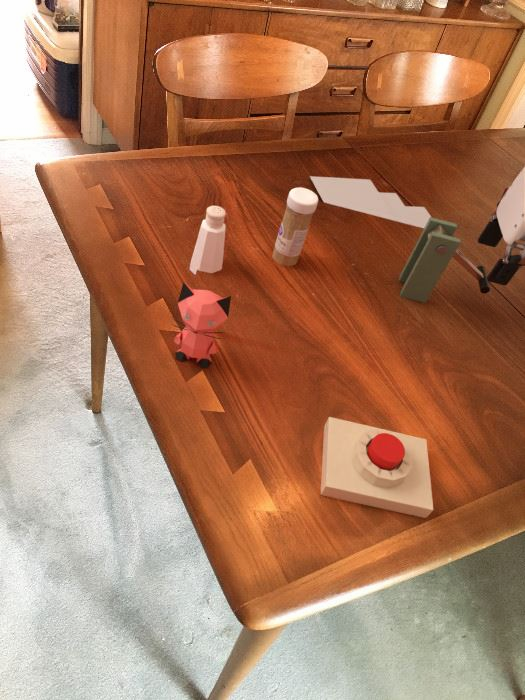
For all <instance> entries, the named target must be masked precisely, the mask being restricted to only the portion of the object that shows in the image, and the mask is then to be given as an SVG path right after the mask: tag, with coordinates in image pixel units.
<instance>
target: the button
mask: <svg viewBox="0 0 525 700" xmlns="http://www.w3.org/2000/svg"><path fill="white" fill-rule="evenodd" d="M368 456H369V458H370V460H371V461H372V462H373V463H374V464H375V465H376V466H377V467H379V468H381V469H385V470H391V469H394V468H396V467H397V466H398V464H399V463H400V462H401V460H402V459H403V458H404V456H405V448H404V446H403V444H402V442H401V441H400V440H399V439H398V438H397V437H395V436H393V435H391V434H388V433H381V434H378V435H376V436H375V437H374V439H373V440H372V442H371V443H370V445H369V447H368Z"/></svg>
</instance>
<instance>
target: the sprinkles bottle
mask: <svg viewBox="0 0 525 700" xmlns="http://www.w3.org/2000/svg"><path fill="white" fill-rule="evenodd" d="M318 203H319V197H318V195H317V194H316V193H315V192H314V191H312V190H311V189H308V188H306V187H294V188H292V189H290V190H289V193H288V195H287V199H286V208H285V211H284V214H283V218H282V221H281V223H280V227H279V230H278V232H277V236H276V240H275V244H274V248H273V250H272V251H273V252H272V255H271V256H272V259H273V261H274V262H275V263H277V264H278V265H280V266H283V267H294V266H295V265H296V264H297V263H298V261H299V257H300V254H301V252H302V249H303V247H304V244H305V240H306V237H307V234H308V232H309V228H310V224H311V221H312V218H313V215H314V213H315V212H316V210H317V207H318Z"/></svg>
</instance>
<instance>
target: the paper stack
mask: <svg viewBox="0 0 525 700" xmlns="http://www.w3.org/2000/svg"><path fill="white" fill-rule="evenodd" d="M309 178H310V180H311V182H312V184H313V185H314V187H315V189H316V191H317V193H318V194H319V196H320V198H321V200H322V201H323V203H324V204H328V205H332V206H337V207H340V208H344V209H348V210H351V211H356V212H360V213H363V214H367V215H370V216H375V217H379V218H383V219H386V220H391V221H393V222H398V223H402V224H405V225H408V226H414V227H417V228H421V229H424V228H425V226H426V224H427V222H428V220H429V218H430V217H432V215H431V214H430V212H428V210H427V208H426V207H425V206H410V205H409V206H408V205H405V204H404V202H403V201H402V200H401V198H400V196H399V195H398V194H397V192H380V191H378V188H377V187H376V186H375V184H374V183H373V181H372V180H371V179H366V178H349V177H348V178H347V177H332V176H331V177H330V176H329V177H328V176H312V175H309Z"/></svg>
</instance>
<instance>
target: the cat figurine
mask: <svg viewBox="0 0 525 700" xmlns="http://www.w3.org/2000/svg"><path fill="white" fill-rule="evenodd" d="M231 299H232V295H229V296H226V297H222V296H220V295H218V294H216V292H213V291H211V290H209V289H195V288H192V287H191V286H189V284H187V283H186V282H184V281H183V283H182V286H181V290H180V294H179V297H178V300H177V305H178V309H179V312H180V313H179V314H180V315H181V319H182V322H180V321H178V320H177V319H176V318H174V317H173V316H170V317H171V318H172V320H174V321H175V322H177V323H179V324H180V325H181V326H183V327H184V328H183V327H181V326H178V325H175V324H172V323H171V322H170V324H171V325H172V326H173V327H175V328H178V329H181V330H182V331H181V332H177V333H176V334H175V337H174V340H173V343H175V345H176V346H179V345H180V348H179V349H178V350H176V351H175V353H174V354H175V355H174V357H175V360H177V361H179V362H181V363H182V362H186V361H189V360H190V359H196V363H197V365H198V366H199V367H200V368H203V369H208V368H209V367H211V365H212V364H213V362H212V359H211V355H215V354H217V351H218V344H217V343H216V340H215V339H218V340H223V338H219V337H217V336H214V334H223V333H224V331H220V332H219V331H217V332H214V331H215V330H216V329H218V328H219V327H220V326H221V325H223V324H224V323H225V322H226V320H228V319H229V314H230V307H231Z"/></svg>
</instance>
